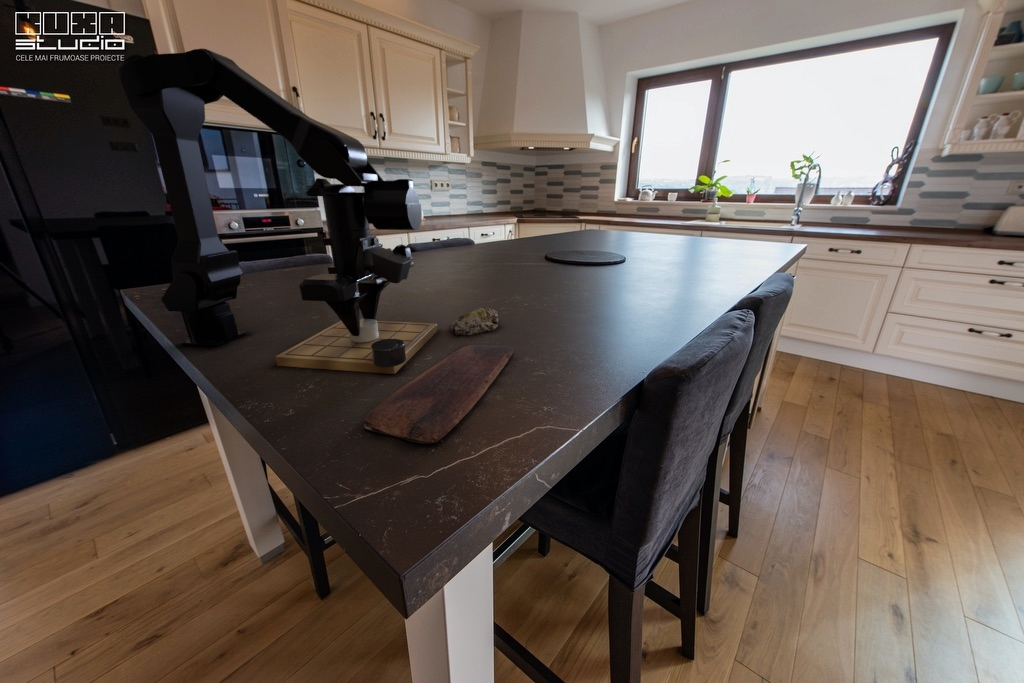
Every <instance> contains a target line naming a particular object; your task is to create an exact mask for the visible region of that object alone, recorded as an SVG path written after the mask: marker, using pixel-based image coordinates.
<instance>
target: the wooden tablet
mask: <svg viewBox="0 0 1024 683" xmlns="http://www.w3.org/2000/svg"><path fill="white" fill-rule="evenodd" d="M513 354H514V347H512V346H505V345H504V346H503V345H485V344H468V345H465V346H463V347H461V348H459V349H457V350H455V351H453V352H452V353H450V354H449V355H448V356H446V357H444V359H442V360H440V361H439V362H438V363H436V364H435V365H433V366H431V367H429V368H428V369H427V370H425V371H424V372H422V373H421V374H419V375H418V376H416V377H415V378H413V379H412V380H411V381H409V382H407V383H406V384H405V385H403V386H402V387H400V388H399V389H397V391H395V392H394V393H392V394H391V395H390V396H388V397H387V398H386V399H385V400H384V401H382V402H381V403H380V404H378V405H377V406H376V407H374V408H373V409H372V410H371V411H370V412H369V413H368V414H367V415H366V416H365V417H364V419H363V421H362V427H363V429H365V430H367V431H371V432H373V433H378V434H381V435H388V436H393V437H396V438H400V439H402V440H405V441H407V442H410V443H417V444H421V445H432V444H435V443H437V442H439V441H440V440H441V439H443V438H444V437H445V436H447V434H448V433H449V432H450V431H451V430H452V429H453V428H454V427H455V426H457V424H459V423H460V421H462V419H464V417H466V415H467V414H468V413H469V412H470V411H471V410H472V409H473V408H474V407H475V405H476V404H477V403H478V401H480V399H481V398H482V396H483V395H484V394H485V393H486V392H487V390H488V388H489V387H490V386H491V384H492V383H493V382H494V381H495V380H496V378H497V377H498V375H499V374H500V373H501V372H502V370H503V369H504V367H505V366H506V364H507V363H508V362H509V359H510V358H511V357H512V355H513Z"/></svg>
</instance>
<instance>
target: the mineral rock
mask: <svg viewBox="0 0 1024 683" xmlns="http://www.w3.org/2000/svg"><path fill="white" fill-rule="evenodd" d="M499 323H500V322H499V315H498V311H497V310H496V309H493V308H491V309H490V308H489V307H484V308H483V307H478V308H476V309H474V310H473V311H467V312H465V313H463V315H461V316H459V317H458V318H457V319H455V321H453V322H452V324H451V325H450V328H451V332H452V333H453V334H455V336H472V335H478V334H480V333H485V332H492V331H495V330H496V328H498V325H499Z"/></svg>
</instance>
